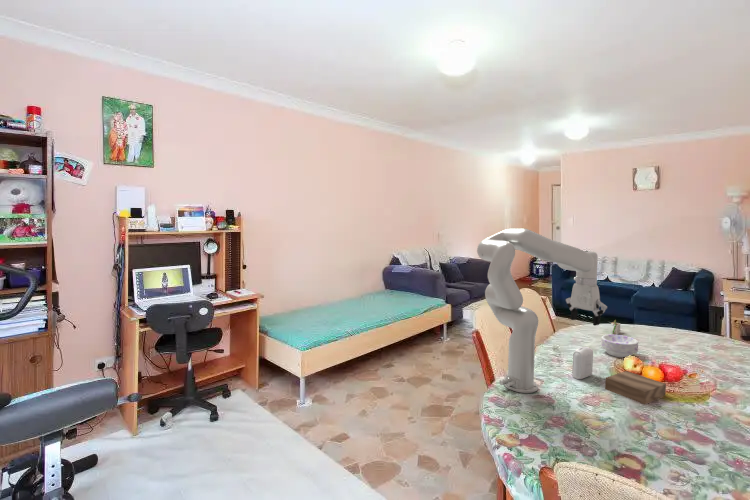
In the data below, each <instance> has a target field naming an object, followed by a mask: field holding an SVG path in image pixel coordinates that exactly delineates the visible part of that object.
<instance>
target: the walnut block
mask: <svg viewBox="0 0 750 500" xmlns="http://www.w3.org/2000/svg"><path fill="white" fill-rule="evenodd" d="M604 380H605V382H604V383H605V385H604V390H606V391H608V392H611V393H613V394H616V395H619V396H621V397H624V398H626V399H629V400H631V401H634V402H637V403H639V404H642V405H648V404H649V403H651V402H652V403H653V402H655V401H657V400H659V399H661V398H664V397H665V396H666V393H667V392H666V391H667V389H666V388H667V384H666V383H665V382H661V381H658V380H656V379H652V378H649V377H646V376H643V375H640V374H638V373H633V372H630V371H628V370H625V371H622V372H619V373H615V374H613V375H610V376H607V377H605V379H604ZM664 395H665V396H664ZM663 396H664V397H663Z"/></svg>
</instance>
